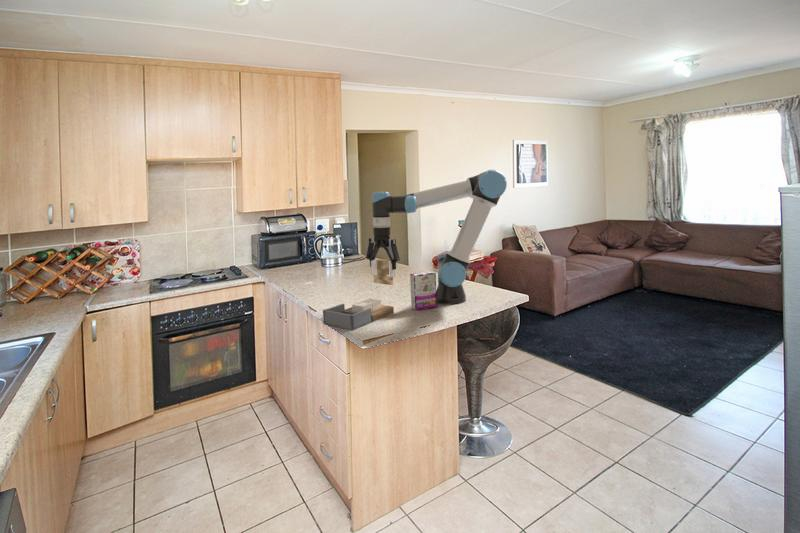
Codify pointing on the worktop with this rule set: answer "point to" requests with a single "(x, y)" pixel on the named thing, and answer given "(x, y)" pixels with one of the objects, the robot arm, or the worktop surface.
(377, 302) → the tile
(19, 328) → the worktop surface
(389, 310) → the board
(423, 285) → the candy bar box
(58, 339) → the worktop surface
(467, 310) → the worktop surface
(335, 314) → the tray
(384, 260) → the scraper
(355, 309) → the tile
